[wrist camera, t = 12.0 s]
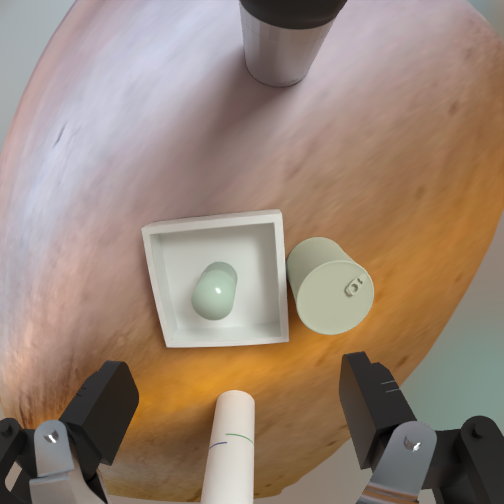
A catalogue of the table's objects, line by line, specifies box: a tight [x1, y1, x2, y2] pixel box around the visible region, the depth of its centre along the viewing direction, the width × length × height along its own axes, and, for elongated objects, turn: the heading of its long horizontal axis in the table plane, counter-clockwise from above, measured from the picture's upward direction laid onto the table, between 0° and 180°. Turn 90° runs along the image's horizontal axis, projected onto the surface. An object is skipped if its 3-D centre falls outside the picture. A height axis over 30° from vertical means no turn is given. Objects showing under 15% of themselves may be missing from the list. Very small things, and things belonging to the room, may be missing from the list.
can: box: [286, 237, 374, 335], centre depth 35 cm, size 9×9×12 cm
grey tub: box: [141, 209, 289, 347], centre depth 39 cm, size 18×18×5 cm
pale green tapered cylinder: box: [191, 262, 238, 320], centre depth 37 cm, size 5×5×8 cm
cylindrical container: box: [200, 390, 254, 504], centre depth 36 cm, size 7×7×25 cm
